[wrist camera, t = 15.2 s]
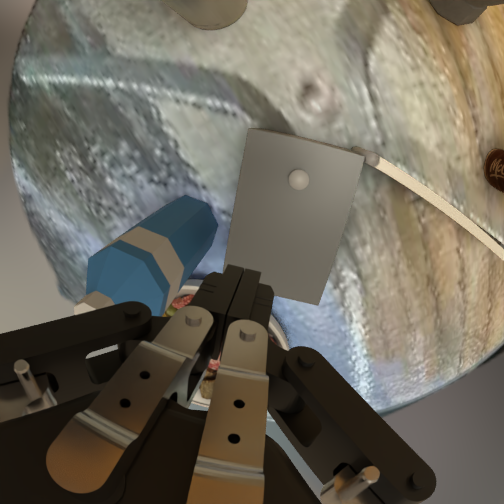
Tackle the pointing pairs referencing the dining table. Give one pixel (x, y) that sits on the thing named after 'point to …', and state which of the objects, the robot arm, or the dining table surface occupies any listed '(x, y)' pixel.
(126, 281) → the water bottle
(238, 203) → the grey button box
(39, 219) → the dining table surface
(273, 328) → the bowl
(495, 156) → the coffee cup
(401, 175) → the case door
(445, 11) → the coffeepot
